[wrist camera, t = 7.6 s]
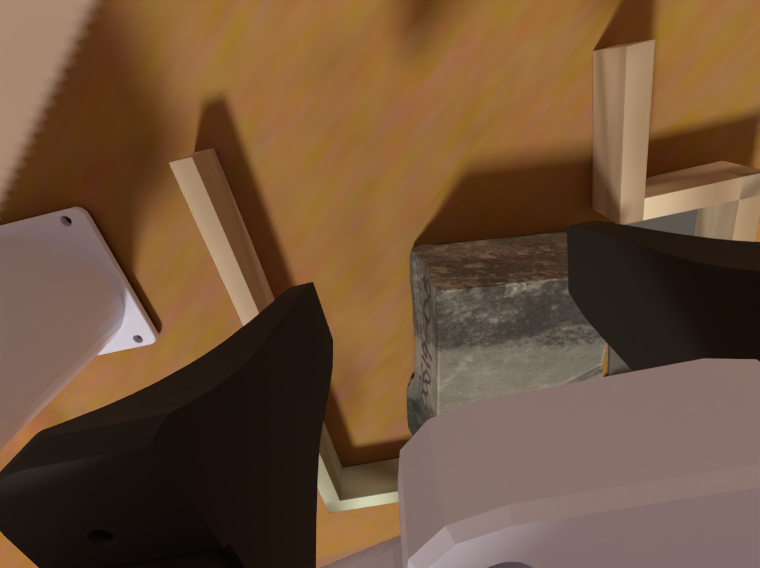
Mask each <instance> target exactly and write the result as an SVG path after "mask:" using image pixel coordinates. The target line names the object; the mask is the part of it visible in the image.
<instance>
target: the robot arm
mask: <svg viewBox="0 0 760 568" xmlns="http://www.w3.org/2000/svg"><path fill="white" fill-rule="evenodd" d="M66 216H67V217H69V218H70V219H71V221H72V224H71V223H69V222H68V221H67V220H66ZM567 255H568V292H569V293H570V295H571V297H572V298H573V300H574V302H575V303H576V305H577V306H578V308H579V310H580V311H581V313H582V314H583V316H584V317H585V318H586V320H587V321H588V322H589V323H590V324H591V325H592V327H593V328H594V329H595V330H596V331H597V332H598V333H599V335H600V336H601V337H602V338H603V339H604V340H605V341H606V342H607V343H608V345H609V346H610V347H611V348H612V349H613V350H614V351H615V352H616V353H617V355H618V356H619V357H620V358H621V359H622V360H623V361H624V362H625V364H626V365H627V366H628V367H629V368H630V369H631V370H632V371H633V372H628V373H623V374H617V375H612V376H607V377H601V378H596V379H590V380H585V381H580V382H574V383H569V384H564V385H558V386H553V387H547V388H542V389H537V390H531V391H526V392H521V393H515V394H510V395H504V396H499V397H494V398H488V399H483V400H477V401H473V402H471V403H468V404H466V405H463V406H461V407H458V408H456V409H453V410H451V411H448V412H446V413H443V414H441V415H438V416H436V417H433V418H431V419H428V420H427V421H426V422H425V423H424V424H423V426H422V427H421V428H420V429H419V430H418V431H417V432H416V433H415V434H414V435H413V437H412V438H411V439H410V440H409V441H408V442H407V443H406V444H405V445H404V447H403V448H402V449H401V450H400V457H399V470H398V482H397V483H398V499H399V515H400V531H401V535H399V536H396V537H394V538H392V539H389V540H387V541H384V542H382V543H379V544H377V545H375V546H372V547H370V548H367V549H365V550H362V551H360V552H358V553H355V554H353V555H350V556H348V557H345V558H343V559H341V560H338V561H336V562H334V563H331V564H329V565H326V566H324V567H321V568H760V242H751V241H736V240H725V239H715V238H707V237H699V236H691V235H684V234H677V233H670V232H664V231H658V230H652V229H646V228H641V227H635V226H629V225H623V224H616V223H609V222H599V221H589V222H585V223H580V224H575V225H571V226H567ZM137 335H139V336H141V337H142V339H141V338H139V337H138V336H137ZM157 338H158V332H157V330H156V329H155V327H154V325H153V323H152V322H151V320H150V318H149V316H148V315H147V313H146V311H145V310H144V308H143V306H142V304H141V303H140V301H139V299H138V297H137V296H136V294H135V292H134V291H133V289H132V287H131V285H130V284H129V282H128V280H127V278H126V277H125V275H124V273H123V271H122V270H121V268H120V266H119V265H118V263H117V261H116V259H115V258H114V256H113V254H112V252H111V251H110V249H109V247H108V246H107V244H106V242H105V240H104V239H103V237H102V235H101V233H100V232H99V230H98V228H97V226H96V225H95V223H94V221H93V220H92V218H91V216H90V214H89V213H88V212H87V211H86V210H85V209H83V208H81V207H72V208H68V209H64V210H60V211H56V212H52V213H48V214H44V215H40V216H36V217H32V218H28V219H24V220H20V221H16V222H12V223H8V224H4V225H0V451H1V450H2V449H3V448H4V447H5V446H6V445H7V444H8V443H9V442H10V441H11V440H12V439H13V438H14V437H15V436H16V435H17V434H18V433H19V432H20V431H21V430H22V429H23V428H24V427H25V426H26V425H27V424H28V423H29V422H30V421H31V420H32V419H33V418H34V417H35V416H36V415H37V414H38V413H39V412H40V411H41V410H42V409H43V408H44V407H45V406H46V405H47V404H48V403H49V402H50V401H51V400H52V399H53V398H54V397H55V396H56V395H57V394H58V393H59V392H60V391H61V390H62V389H63V388H64V387H65V386H66V385H67V384H68V383H69V382H70V381H71V380H72V379H73V378H74V377H75V376H76V375H77V374H78V373H79V372H80V371H81V370H82V369H83V368H84V367H85V366H86V365H87V364H88V363H89V362H90V361H91V360H92V359H93V358H94V357H95V356H97V355H102V354H106V353H111V352H116V351H121V350H125V349H130V348H135V347H139V346H144V345H149V344H152V343H154V342H155V341H156V340H157ZM332 367H333V339H332V336H331V333H330V330H329V327H328V324H327V321H326V318H325V315H324V313H323V310H322V307H321V304H320V301H319V298H318V295H317V292H316V289H315V286H314V284H313V282H311V283H306V284H302V285H297V286H293V287H291V288H289V289H288V290H286V291H285V292H284V293H283V294H281V295H280V296H279V297H278V298H276V299H275V300H274V301H273V302H272V303H271V304H270V305H268V306H267V307H266V308H265V309H264V310H263V311H261V312H260V313H259V314H258V315H257V316H256V317H254V318H253V319H252V320H251V321H250V322H248V323H247V324H246V325H244V326H243V327H242V328H241V329H239V330H238V331H237V332H236V333H234V334H233V335H232V336H231V337H229V338H228V339H227V340H225V341H224V342H223V343H221V344H220V345H218V346H217V347H215V348H214V349H213V350H211V351H209V352H208V353H206V354H205V355H203V356H202V357H200V358H199V359H197V360H195V361H194V362H192V363H191V364H189V365H187V366H185V367H183V368H182V369H180V370H178V371H176V372H174V373H173V374H171V375H169V376H167V377H165V378H164V379H162V380H160V381H158V382H156V383H154V384H152V385H150V386H148V387H146V388H144V389H142V390H140V391H138V392H136V393H134V394H131V395H129V396H127V397H125V398H123V399H120V400H118V401H116V402H114V403H111V404H109V405H107V406H104V407H102V408H100V409H97V410H94V411H92V412H89V413H87V414H84V415H81V416H79V417H76V418H74V419H71V420H68V421H66V422H63V423H61V424H58V425H55V426H53V427H50V428H47V429H44V430H42V431H40V432H39V433H37V434H36V435H35V436H34V437H33V438H32V439H31V440H30V441H29V442H28V443H27V444H26V445H25V446H24V447H23V448H22V450H21V451H20V452H19V453H18V454H17V455H16V456H15V457H14V458H13V459H12V460H11V461H10V462H9V463H8V464H7V465H6V466H5V467H4V468H3V470H2V471H1V472H0V531H1V532H2V533H3V535H4V536H5V537H6V538H7V539H9V540H10V541H11V542H12V543H13V544H14V545H15V546H16V547H17V548H18V549H19V550H20V551H21V552H23V553H24V554H25V555H26V556H27V557H28V558H29V559H30V560H31V561H32V562H33V563H34V564H36V565H37V566H38V567H39V568H316V513H317V485H318V466H319V449H320V440H321V433H322V427H323V421H324V415H325V410H326V404H327V398H328V392H329V386H330V380H331V374H332Z"/></svg>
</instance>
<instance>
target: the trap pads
mask: <svg viewBox="0 0 760 568" xmlns="http://www.w3.org/2000/svg"><path fill="white" fill-rule="evenodd" d="M697 211H698V209H694V210H690V211H685V212H680V213H676V214H671V215H666V216H662V217H657V218H652V219H648V220H643V221H638V222H634V223H629V224H624V225H629V226H635V227H641V228H646V229H652V230H658V231H664V232H670V233H677V234H684V235H691V236H694V234H695V226H696V218H697ZM612 223H615V222H613V221H612ZM628 372H633V371H632V370H631V369H630V368H629V367H628V366H627V365H626V364H625V362H624V361H623V360H622V359H621V358H620V357H619V356H618V355H617V353H616V352H615V351H614V350H613V349H612V348H611V347H610V346H609V348H608V376H612V375H617V374H623V373H628Z"/></svg>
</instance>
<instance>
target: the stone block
mask: <svg viewBox="0 0 760 568" xmlns="http://www.w3.org/2000/svg"><path fill="white" fill-rule="evenodd" d="M410 280H411V289H412V299H413V321H414V335H415V375H414V377H413V378H412V379H411V380H410V384H409V386H408V388H407V417H408V427H409V429H410V432H411V434H412V436H413V435H414V434H415V433H416V432H417V431H418V430H419V429H420V428H421V427H422V426H423V424H424V423H425V422H426V421H427V420H428V419H431V418H433V417H436V416H438V415H441V414H443V413H446V412H448V411H451V410H453V409H456V408H458V407H461V406H463V405H466V404H468V403H471V402H473V401H477V400H483V399H488V398H494V397H499V396H504V395H510V394H515V393H521V392H526V391H531V390H537V389H542V388H547V387H553V386H558V385H564V384H569V383H574V382H580V381H585V380H590V379H596V378H601V377H603V368H602V361H603V357H604V353H605V349H606V345H607V342H606V341H605V340H604V339H603V338H602V337H601V336H600V335H599V333H598V332H597V331H596V330H595V329H594V328H593V327H592V325H591V324H590V323H589V322H588V321H587V320H586V318H585V317H584V316H583V314H582V313H581V311H580V310H579V308H578V306H577V305H576V303H575V302H574V300H573V298H572V297H571V295H570V293H569V292H568V255H567V231H566V232H553V233H543V234H535V235H524V236H514V237H505V238H495V239H485V240H475V241H467V242H459V243H458V242H457V243H452V244H442V245H430V244H425V245H418V246H416V247H414V248H412V253H411V255H410Z"/></svg>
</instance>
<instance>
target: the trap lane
mask: <svg viewBox="0 0 760 568" xmlns="http://www.w3.org/2000/svg"><path fill="white" fill-rule="evenodd" d="M654 50H655V39H652V40H646V41H639V42H632V43H625V44H619V45H614V46H610V47H607V48H603V49H599V50H595V51H593V174H592V209H593V210H594V211H596V212H598V213H599V214H601V215H603V216H604V217H606V218H608V219H609V220H611V221H613V222H615V223H616V224H623V225H624V224H629V223H634V222H638V221H643V220H648V219H652V218H657V217H662V216H666V215H671V214H676V213H680V212H685V211H690V210H694V209H698V211H697V218H696V226H695V234H694V236H699V237H707V238H715V239H725V240H736V241H751V242H754V241H755V236H756V231H757V226H758V222H759V217H760V169H757V168H752V167H748V166H744V165H739V164H735V163H730V162H726V161H718V162H714V163H709V164H705V165H701V166H696V167H692V168H687V169H683V170H678V171H674V172H669V173H665V174H660V175H656V176H652V177H647V178H646V170H647V155H648V140H649V125H650V110H651V95H652V80H653V65H654ZM169 164H170V166H171V168H172V171H173V173H174V175H175V177H176V179H177V182H178V184H179V186H180V188H181V190H182V193H183V195H184V197H185V199H186V201H187V203H188V206H189V208H190V210H191V212H192V214H193V217H194V219H195V221H196V223H197V225H198V227H199V230H200V232H201V234H202V236H203V238H204V241H205V243H206V245H207V247H208V249H209V251H210V254H211V256H212V258H213V260H214V262H215V265H216V267H217V269H218V271H219V273H220V275H221V278H222V280H223V282H224V284H225V286H226V289H227V291H228V293H229V295H230V297H231V299H232V302H233V304H234V306H235V308H236V310H237V313H238V315H239V317H240V319H241V321H242V323H243V326H244V325H246V324H247V323H248V322H250V321H251V320H252V319H253V318H254V317H256V316H257V315H258V314H259V313H260V312H261V311H263V310H264V309H265V308H266V307H267V306H268V305H270V304H271V303H272V302H273V301H274V300H275V298H274V296H273V293H272V291H271V288H270V286H269V283H268V281H267V278H266V276H265V273H264V271H263V268H262V266H261V263H260V261H259V259H258V256H257V254H256V251H255V249H254V246H253V244H252V241H251V239H250V236H249V234H248V231H247V229H246V226H245V224H244V221H243V219H242V216H241V214H240V211H239V209H238V206H237V204H236V201H235V199H234V196H233V194H232V191H231V189H230V186H229V184H228V181H227V179H226V176H225V174H224V171H223V169H222V166H221V164H220V161H219V159H218V157H217V154H216V152H215V149H214V148H210V149H206V150H203V151H199V152H195V153H192V154H189V155H187V156H184V157H182V158H179V159H177V160H174V161H172V162H169ZM398 470H399V458H395V459H390V460H384V461H378V462H372V463H366V464H361V465H355V466H349V467H342V465H341V463H340V460H339V458H338V455H337V453H336V450H335V448H334V445H333V443H332V440H331V438H330V435H329V433H328V430H327V428H326V425H325V423H324V421H323V427H322V433H321V440H320V449H319V466H318V485H317V487H318V489H319V492H320V494H321V496H322V498H323V500H324V502H325V505H326V507H327V509H328V511H329V513H332V512H338V511H344V510H350V509H357V508H363V507H369V506H375V505H381V504H387V503H394V502H399V499H398V483H397V482H398Z"/></svg>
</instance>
